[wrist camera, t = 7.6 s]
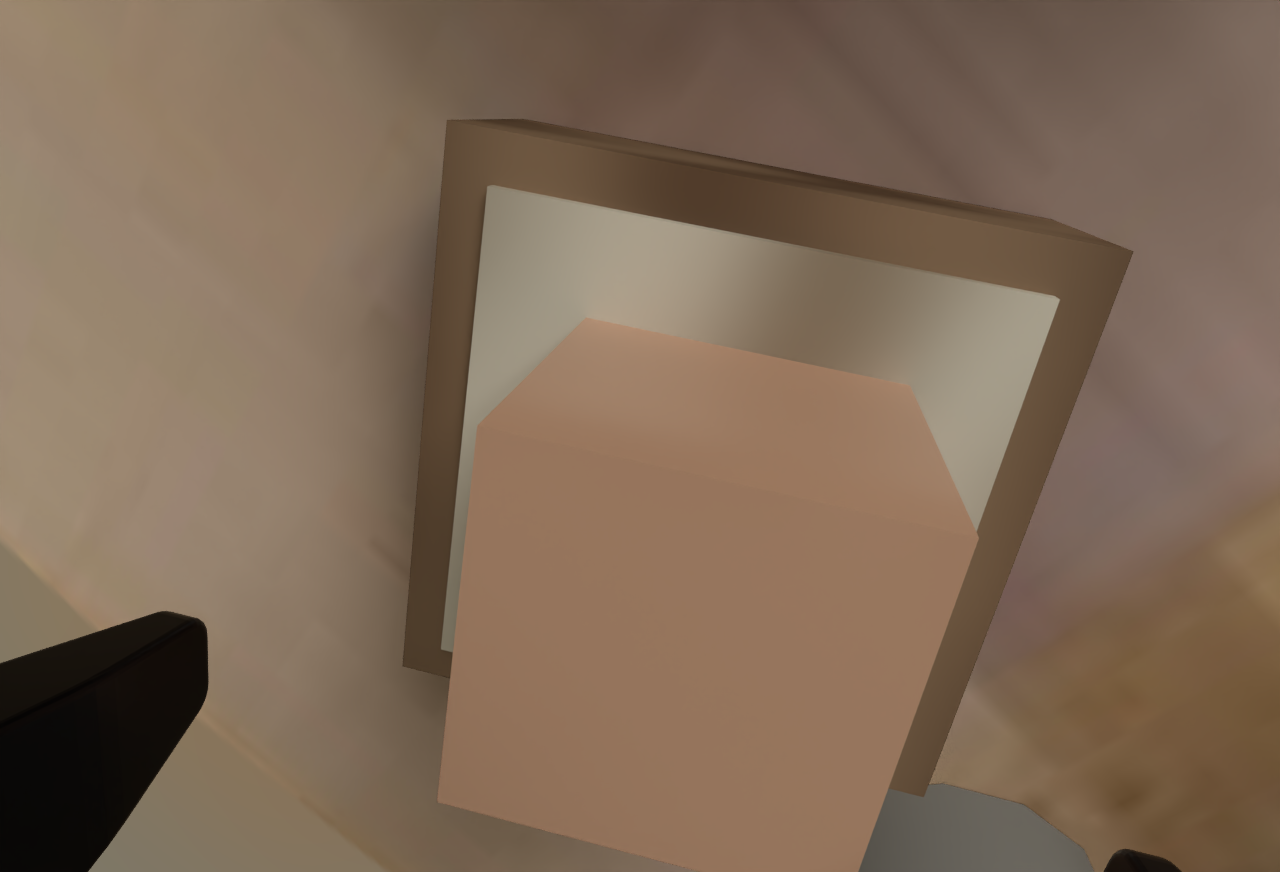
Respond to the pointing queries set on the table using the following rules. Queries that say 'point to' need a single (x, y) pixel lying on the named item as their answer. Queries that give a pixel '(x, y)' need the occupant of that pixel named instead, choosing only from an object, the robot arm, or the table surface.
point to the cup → (966, 836)
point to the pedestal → (756, 328)
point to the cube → (698, 602)
